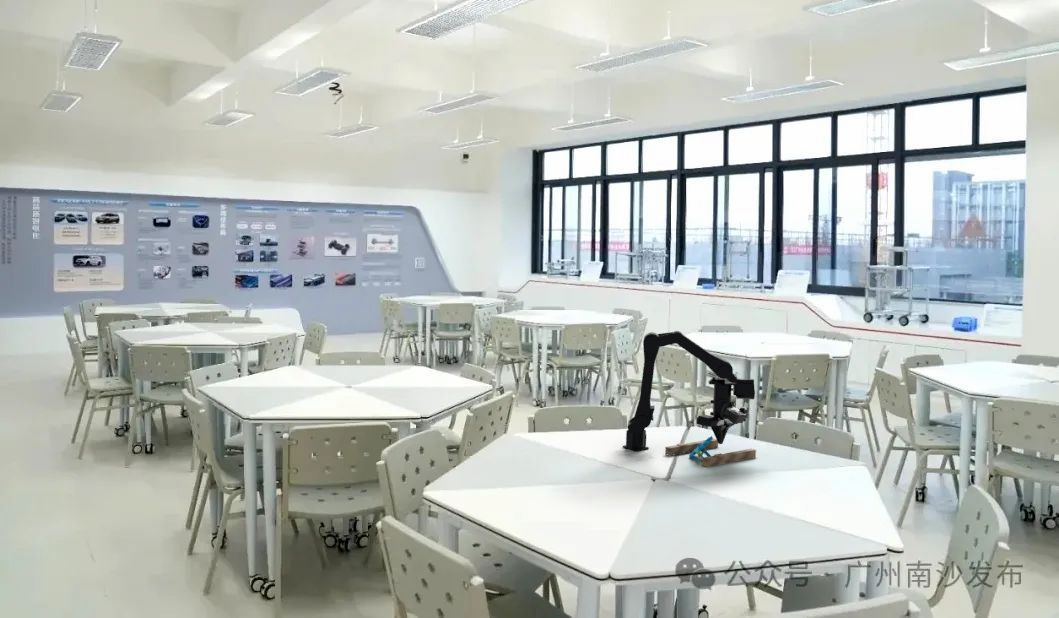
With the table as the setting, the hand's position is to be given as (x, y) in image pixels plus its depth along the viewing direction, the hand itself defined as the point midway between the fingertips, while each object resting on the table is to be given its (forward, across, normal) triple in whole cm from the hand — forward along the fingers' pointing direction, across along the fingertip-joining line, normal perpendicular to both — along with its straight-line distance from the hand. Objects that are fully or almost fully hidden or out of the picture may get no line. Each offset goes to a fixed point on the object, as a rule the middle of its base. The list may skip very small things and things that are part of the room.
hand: (720, 443), depth 268 cm
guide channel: (+4, -5, 0) cm, 6 cm away
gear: (+4, -10, 0) cm, 11 cm away
